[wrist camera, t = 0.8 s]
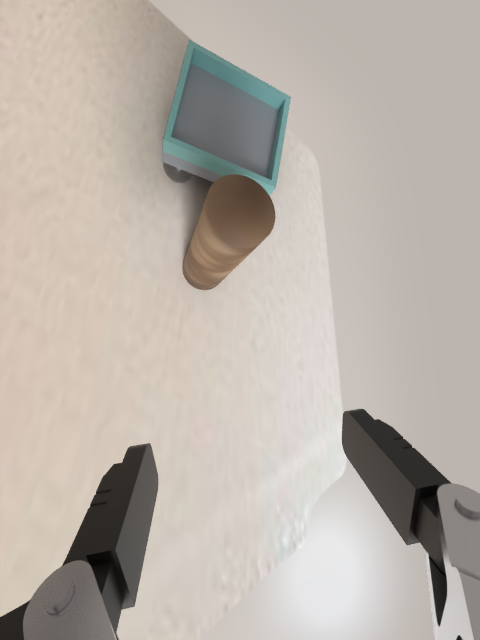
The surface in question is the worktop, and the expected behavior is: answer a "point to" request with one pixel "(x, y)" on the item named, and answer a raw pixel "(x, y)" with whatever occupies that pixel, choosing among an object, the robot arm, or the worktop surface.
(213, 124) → the wheeled cart
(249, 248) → the cylinder
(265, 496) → the worktop surface
